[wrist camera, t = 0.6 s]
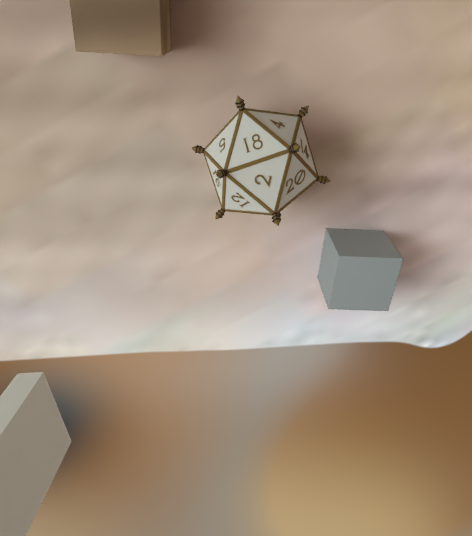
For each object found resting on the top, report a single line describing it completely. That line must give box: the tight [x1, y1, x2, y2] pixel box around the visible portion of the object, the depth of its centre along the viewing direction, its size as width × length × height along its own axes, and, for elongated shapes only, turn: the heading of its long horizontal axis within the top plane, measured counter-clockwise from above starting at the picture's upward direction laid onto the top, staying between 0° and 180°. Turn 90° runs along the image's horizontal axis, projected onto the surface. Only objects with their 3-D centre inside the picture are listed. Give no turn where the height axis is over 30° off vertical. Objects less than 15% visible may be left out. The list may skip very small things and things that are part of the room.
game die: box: [192, 96, 330, 226], centre depth 29 cm, size 9×8×10 cm
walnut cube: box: [70, 0, 171, 56], centre depth 26 cm, size 5×5×5 cm
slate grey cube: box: [318, 228, 403, 311], centre depth 36 cm, size 5×5×5 cm
